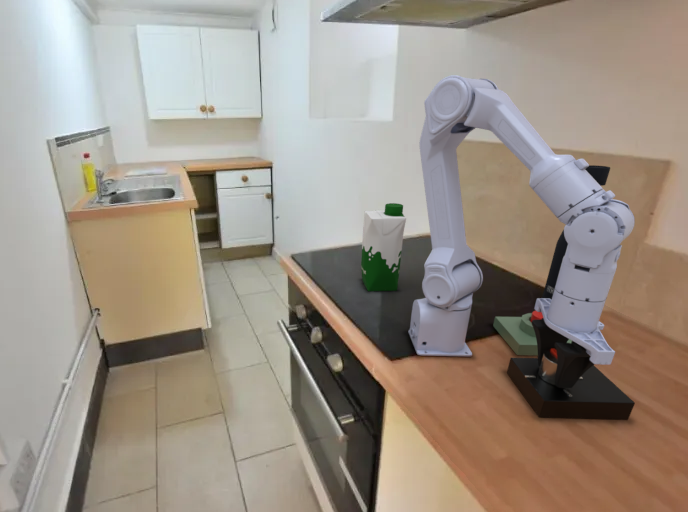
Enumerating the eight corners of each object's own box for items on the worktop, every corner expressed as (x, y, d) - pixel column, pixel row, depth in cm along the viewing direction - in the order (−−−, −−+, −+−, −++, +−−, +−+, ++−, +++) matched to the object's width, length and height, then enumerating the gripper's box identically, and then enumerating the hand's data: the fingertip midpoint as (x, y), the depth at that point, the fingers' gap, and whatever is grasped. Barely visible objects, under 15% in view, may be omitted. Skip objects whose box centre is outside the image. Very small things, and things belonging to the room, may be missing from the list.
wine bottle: (577, 308, 82) (621, 166, 71) (571, 318, 78) (616, 169, 67) (544, 299, 87) (580, 163, 75) (536, 308, 82) (574, 166, 71)
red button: (536, 328, 68) (538, 319, 67) (526, 318, 71) (528, 310, 70) (557, 328, 68) (559, 320, 67) (546, 318, 71) (548, 310, 70)
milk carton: (401, 292, 90) (410, 209, 82) (364, 293, 90) (369, 210, 82) (391, 277, 98) (398, 200, 91) (357, 278, 98) (361, 201, 90)
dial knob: (575, 386, 54) (583, 364, 53) (547, 385, 54) (553, 363, 53) (559, 369, 58) (566, 348, 56) (533, 368, 58) (538, 347, 56)
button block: (516, 355, 66) (521, 335, 65) (492, 326, 76) (496, 308, 74) (587, 356, 66) (593, 337, 64) (554, 327, 75) (559, 309, 74)
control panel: (538, 417, 53) (543, 399, 51) (506, 372, 62) (509, 356, 61) (628, 420, 52) (635, 402, 51) (581, 374, 61) (587, 358, 60)
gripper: (654, 320, 44) (617, 412, 49) (577, 272, 57) (555, 348, 62) (591, 319, 44) (561, 410, 49) (529, 271, 57) (511, 347, 63)
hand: (554, 376), depth 56 cm, fingers closed on dial knob, 4 cm apart
